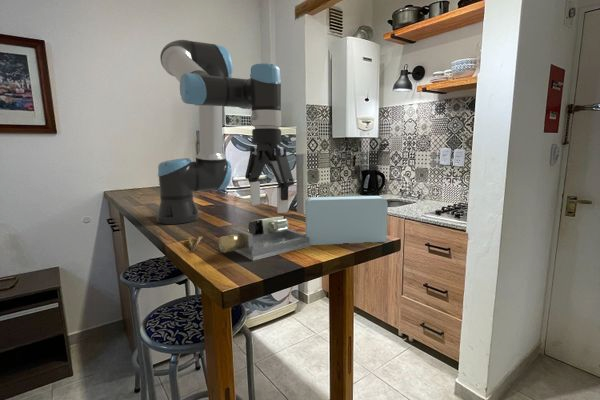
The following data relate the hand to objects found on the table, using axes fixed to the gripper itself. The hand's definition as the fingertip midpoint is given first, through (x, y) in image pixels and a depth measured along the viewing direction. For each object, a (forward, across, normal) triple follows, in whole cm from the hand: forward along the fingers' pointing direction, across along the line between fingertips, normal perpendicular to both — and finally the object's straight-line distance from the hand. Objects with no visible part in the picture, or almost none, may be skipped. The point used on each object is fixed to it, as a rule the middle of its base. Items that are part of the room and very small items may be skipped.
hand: (268, 208), depth 89 cm
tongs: (+12, -14, -15) cm, 24 cm away
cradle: (+11, +1, 0) cm, 11 cm away
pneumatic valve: (+6, -1, +6) cm, 9 cm away
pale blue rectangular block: (+11, +10, +20) cm, 25 cm away
